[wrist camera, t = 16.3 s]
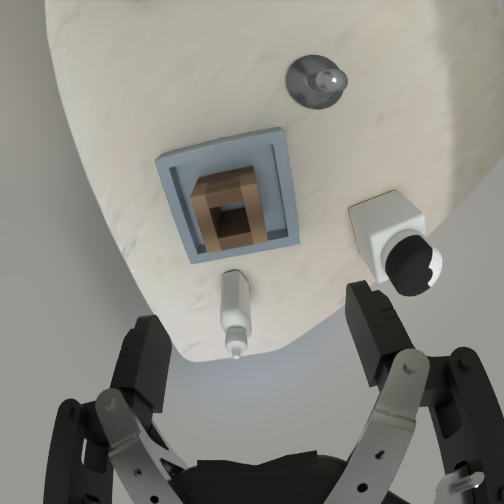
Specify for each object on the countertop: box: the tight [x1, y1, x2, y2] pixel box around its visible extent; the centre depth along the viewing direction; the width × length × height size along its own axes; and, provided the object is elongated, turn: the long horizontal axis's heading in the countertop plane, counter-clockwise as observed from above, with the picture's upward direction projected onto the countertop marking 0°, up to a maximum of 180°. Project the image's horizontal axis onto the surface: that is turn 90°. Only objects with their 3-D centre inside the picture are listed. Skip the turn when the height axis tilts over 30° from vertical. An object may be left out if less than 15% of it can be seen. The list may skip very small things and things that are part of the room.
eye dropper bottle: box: [220, 271, 252, 359], centre depth 33 cm, size 4×6×12 cm
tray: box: [155, 127, 300, 264], centre depth 29 cm, size 13×13×3 cm
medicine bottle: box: [349, 190, 442, 296], centre depth 28 cm, size 7×7×12 cm
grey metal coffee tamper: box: [286, 55, 348, 109], centre depth 21 cm, size 6×6×7 cm
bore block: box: [190, 165, 268, 253], centre depth 28 cm, size 6×6×6 cm
